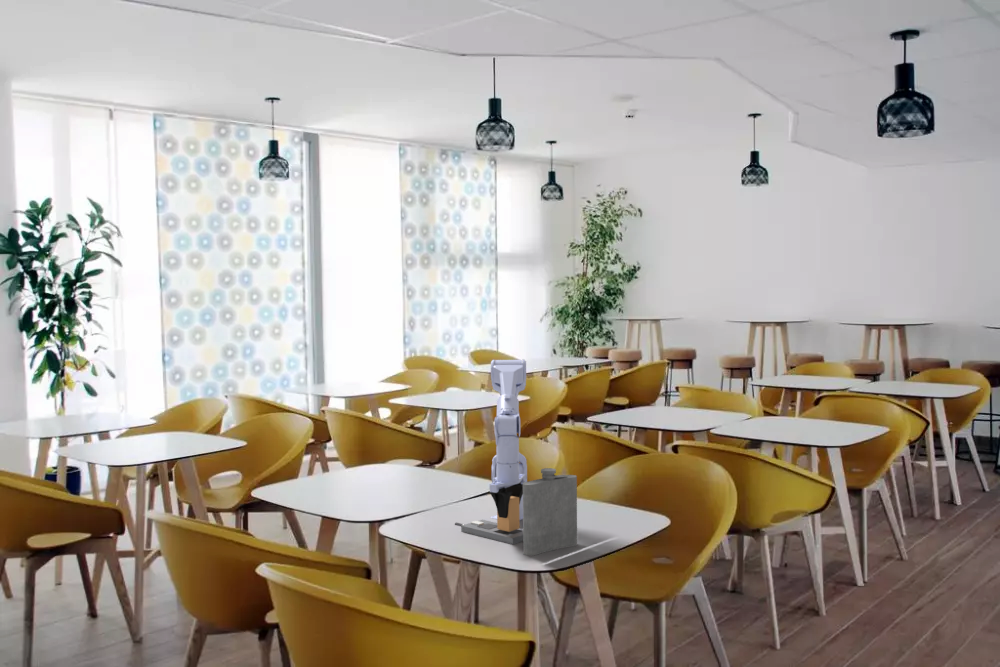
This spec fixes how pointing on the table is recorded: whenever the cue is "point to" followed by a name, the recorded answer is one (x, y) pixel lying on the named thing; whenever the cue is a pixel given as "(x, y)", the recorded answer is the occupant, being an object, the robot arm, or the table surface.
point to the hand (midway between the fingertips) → (508, 515)
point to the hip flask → (549, 513)
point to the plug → (510, 516)
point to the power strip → (492, 531)
